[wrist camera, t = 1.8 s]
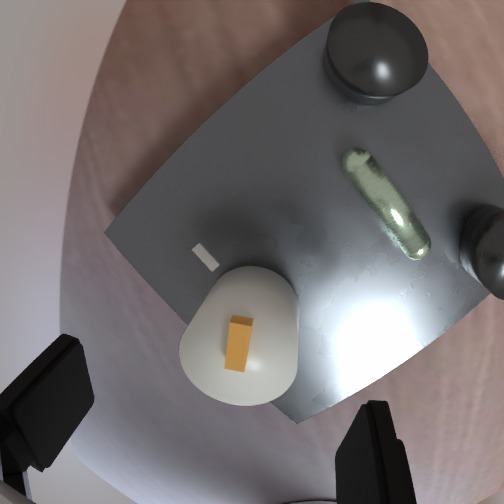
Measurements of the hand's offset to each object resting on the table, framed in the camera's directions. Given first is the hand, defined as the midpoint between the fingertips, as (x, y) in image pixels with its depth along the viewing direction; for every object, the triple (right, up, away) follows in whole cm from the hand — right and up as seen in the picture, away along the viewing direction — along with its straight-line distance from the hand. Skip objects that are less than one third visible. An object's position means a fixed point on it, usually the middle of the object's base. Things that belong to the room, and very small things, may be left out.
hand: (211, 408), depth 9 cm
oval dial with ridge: (+1, +2, +9) cm, 9 cm away
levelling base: (+6, +6, +9) cm, 12 cm away
